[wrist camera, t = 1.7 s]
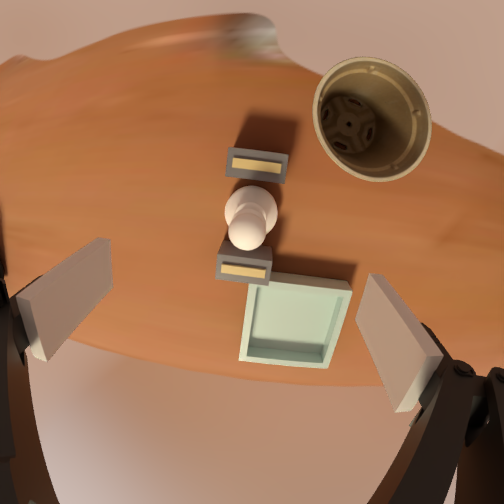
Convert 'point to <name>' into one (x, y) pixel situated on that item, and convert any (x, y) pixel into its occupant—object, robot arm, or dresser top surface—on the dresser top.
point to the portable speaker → (1, 271)
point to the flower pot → (372, 119)
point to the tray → (294, 320)
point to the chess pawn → (250, 216)
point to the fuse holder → (260, 259)
